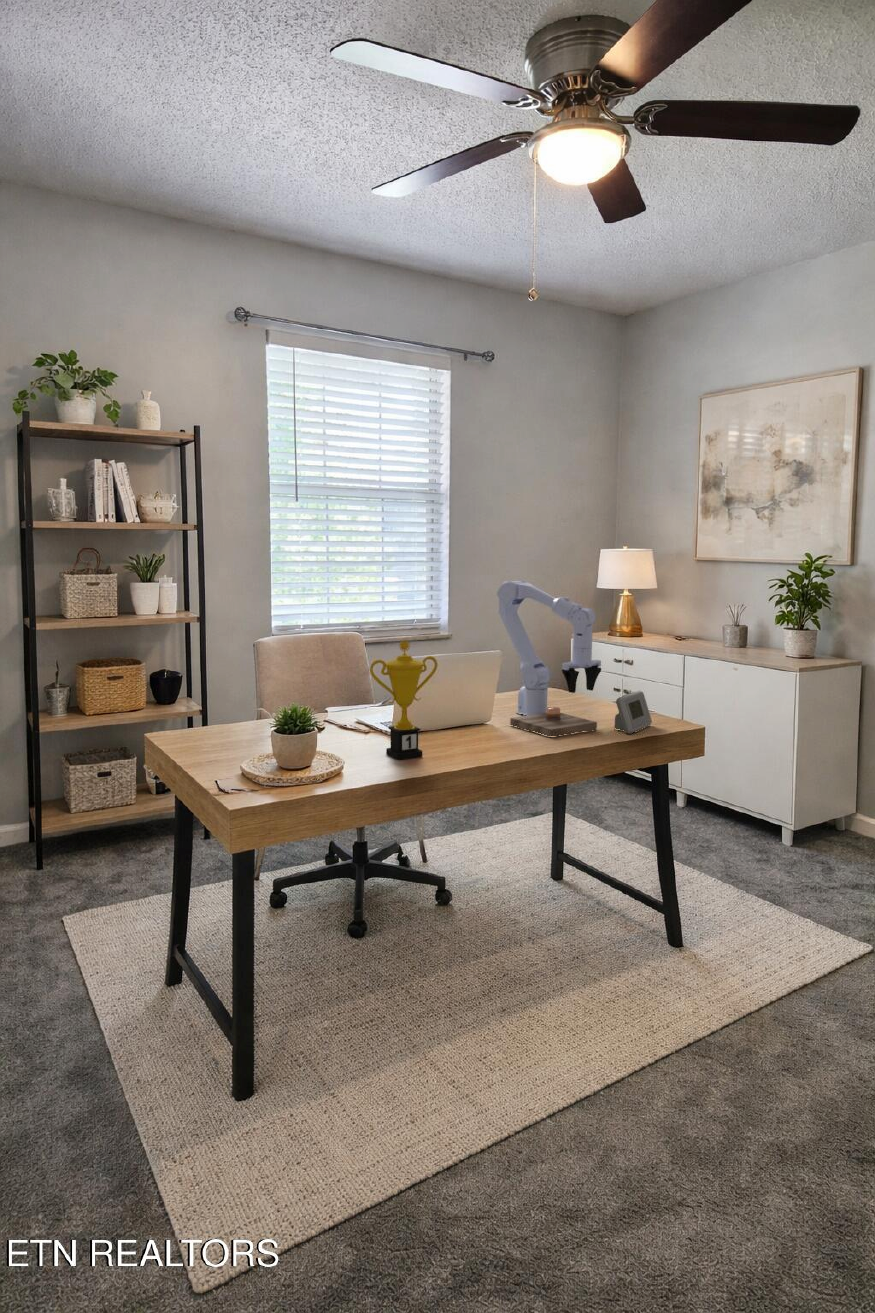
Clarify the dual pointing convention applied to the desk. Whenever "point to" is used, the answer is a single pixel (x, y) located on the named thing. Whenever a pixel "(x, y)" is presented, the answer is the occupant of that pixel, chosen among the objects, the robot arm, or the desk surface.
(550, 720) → the block
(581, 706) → the desk surface
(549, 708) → the plunger
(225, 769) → the desk surface
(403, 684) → the trophy
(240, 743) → the desk surface
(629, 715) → the digital clock
